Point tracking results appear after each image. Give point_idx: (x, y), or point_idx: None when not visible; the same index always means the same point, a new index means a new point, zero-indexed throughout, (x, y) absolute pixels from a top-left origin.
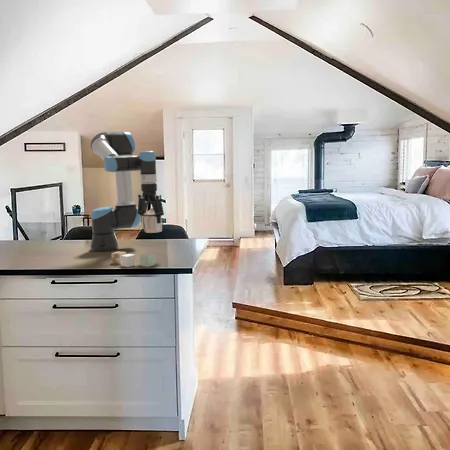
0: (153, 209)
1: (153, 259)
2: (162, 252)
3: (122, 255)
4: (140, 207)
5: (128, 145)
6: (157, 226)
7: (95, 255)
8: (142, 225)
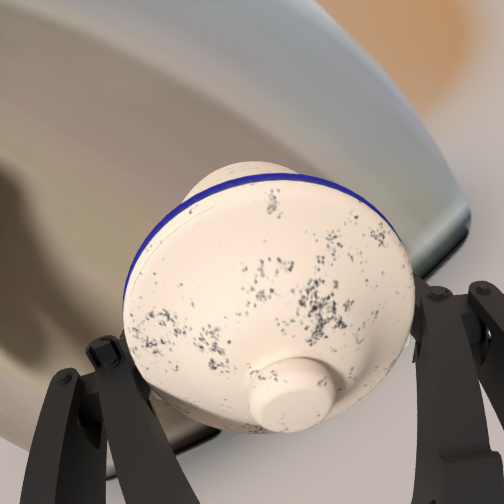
0: (332, 386)
1: None
2: (123, 79)
3: None
4: (96, 474)
5: None
6: None
7: (13, 320)
8: None
